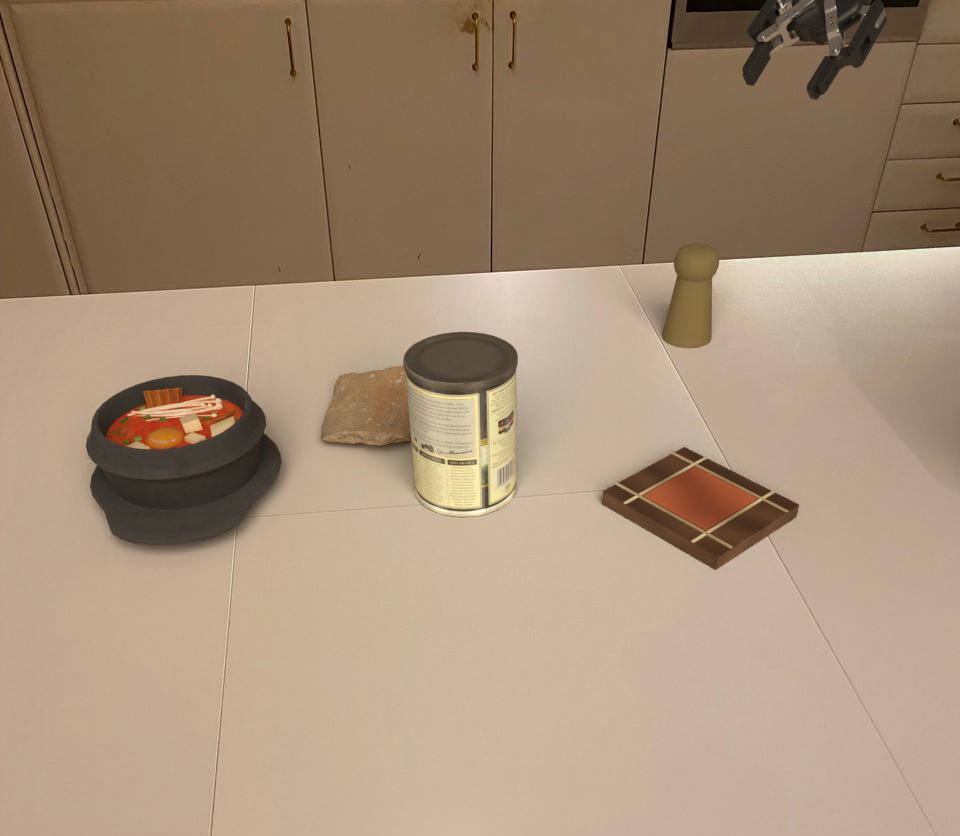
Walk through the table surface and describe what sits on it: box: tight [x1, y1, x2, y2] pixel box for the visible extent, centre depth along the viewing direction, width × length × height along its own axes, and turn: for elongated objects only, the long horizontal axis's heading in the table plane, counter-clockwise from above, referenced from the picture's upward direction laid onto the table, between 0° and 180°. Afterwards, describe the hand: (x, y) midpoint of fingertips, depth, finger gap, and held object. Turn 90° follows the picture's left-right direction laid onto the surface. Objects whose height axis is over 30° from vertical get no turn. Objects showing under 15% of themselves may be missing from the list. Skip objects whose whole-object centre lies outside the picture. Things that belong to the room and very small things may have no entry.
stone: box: [320, 364, 411, 447], centre depth 107 cm, size 11×16×3 cm
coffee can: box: [402, 331, 519, 518], centre depth 93 cm, size 10×10×14 cm
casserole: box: [85, 374, 283, 546], centre depth 96 cm, size 25×19×8 cm
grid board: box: [601, 446, 800, 571], centre depth 94 cm, size 12×14×2 cm
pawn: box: [661, 243, 720, 349], centre depth 118 cm, size 6×6×11 cm
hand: (778, 87), depth 109 cm, fingers open, 8 cm apart
